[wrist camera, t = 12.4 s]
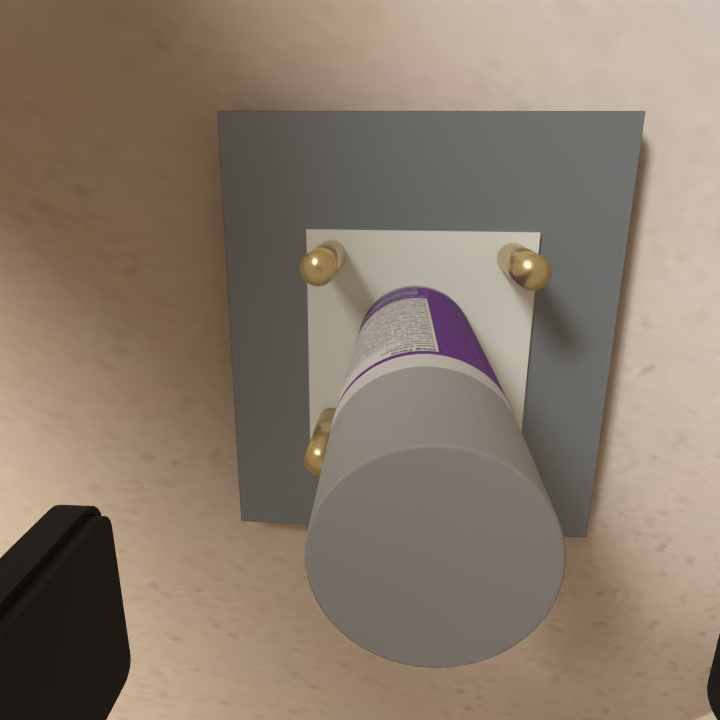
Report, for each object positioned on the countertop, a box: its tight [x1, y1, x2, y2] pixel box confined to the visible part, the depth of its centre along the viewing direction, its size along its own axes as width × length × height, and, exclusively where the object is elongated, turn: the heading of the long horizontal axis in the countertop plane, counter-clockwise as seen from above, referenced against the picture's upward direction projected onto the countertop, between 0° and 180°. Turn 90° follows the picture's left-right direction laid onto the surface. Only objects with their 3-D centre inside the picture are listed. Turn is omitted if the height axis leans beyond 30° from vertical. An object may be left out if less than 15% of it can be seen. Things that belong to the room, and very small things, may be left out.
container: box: [305, 286, 566, 668], centre depth 17 cm, size 5×5×15 cm
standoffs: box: [300, 240, 552, 476], centre depth 22 cm, size 8×8×4 cm
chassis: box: [218, 111, 645, 537], centre depth 25 cm, size 18×16×2 cm
